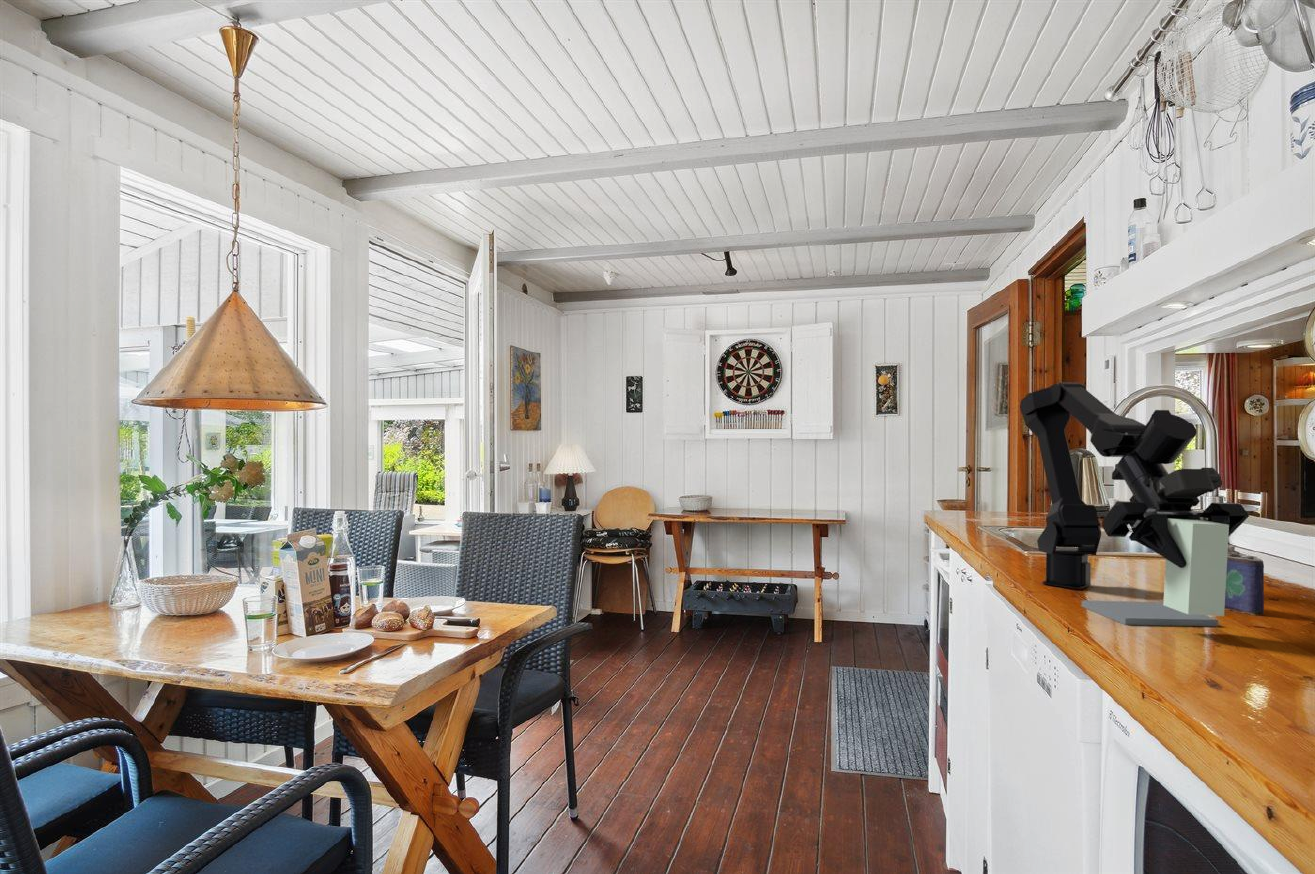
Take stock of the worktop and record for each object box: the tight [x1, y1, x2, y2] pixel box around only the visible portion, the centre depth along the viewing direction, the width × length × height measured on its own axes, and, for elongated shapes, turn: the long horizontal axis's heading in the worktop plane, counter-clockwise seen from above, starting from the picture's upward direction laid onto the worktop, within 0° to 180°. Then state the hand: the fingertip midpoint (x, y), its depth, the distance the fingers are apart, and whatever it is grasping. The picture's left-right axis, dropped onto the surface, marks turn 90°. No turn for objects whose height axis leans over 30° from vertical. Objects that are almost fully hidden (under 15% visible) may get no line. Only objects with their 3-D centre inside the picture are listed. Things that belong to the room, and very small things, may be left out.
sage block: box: [1162, 519, 1229, 617], centre depth 100 cm, size 5×5×13 cm
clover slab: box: [1224, 544, 1265, 617], centre depth 115 cm, size 9×3×11 cm, turn 28°
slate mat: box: [1081, 600, 1219, 627], centre depth 110 cm, size 11×14×1 cm
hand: (1202, 566), depth 99 cm, fingers closed on sage block, 5 cm apart
